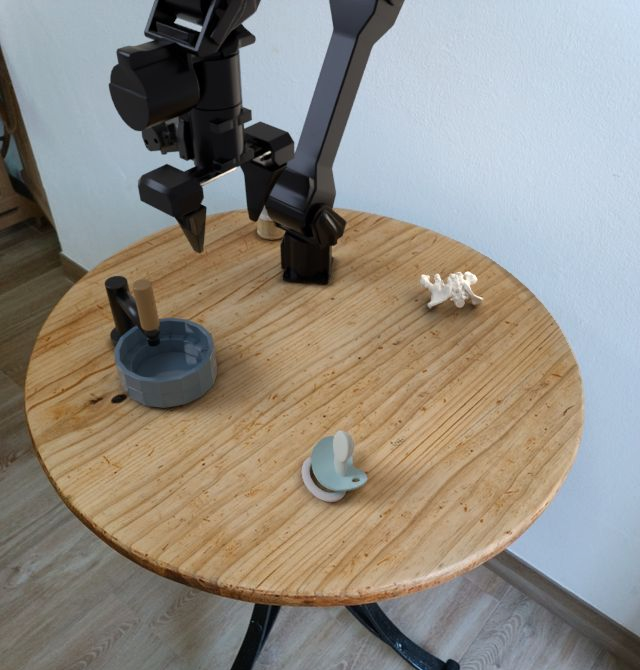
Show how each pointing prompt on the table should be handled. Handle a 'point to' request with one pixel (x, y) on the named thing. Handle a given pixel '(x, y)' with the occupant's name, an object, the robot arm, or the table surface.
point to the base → (114, 337)
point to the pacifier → (333, 467)
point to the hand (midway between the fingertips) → (226, 235)
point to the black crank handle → (134, 307)
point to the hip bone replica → (451, 289)
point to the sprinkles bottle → (268, 227)
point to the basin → (167, 364)
